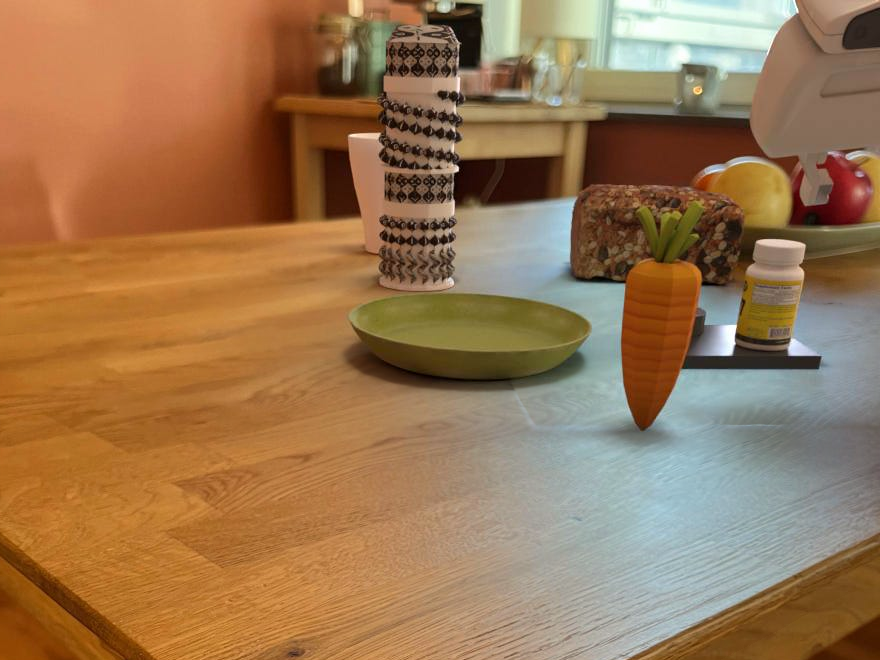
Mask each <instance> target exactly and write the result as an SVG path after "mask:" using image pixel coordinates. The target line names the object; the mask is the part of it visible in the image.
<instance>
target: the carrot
mask: <svg viewBox="0 0 880 660" xmlns="http://www.w3.org/2000/svg"><path fill="white" fill-rule="evenodd" d="M703 211H704V208H703V206H702V204H701V202H699V201H692V203H691V204H690V206H689V207H688V209H687V211H686V212H685V214H684V216H683V218H682V219H681V221H680V223H679V225H678V227H677V229H676V231H675V230H674V229H675V227H676V225H677V224H678V222H679V220H680V218H681V216H682V214H680V213H679V212H675V211H674V212H673V213H672V214H671V215H670V214H669V213H668V212H666V213H664V214H663V215H662V216H661V230H660V238H658V233H657V229H656V225H655V221H654V218H653V216H652V214H651V212H650V211H649V209H648V208H647V207H646V206H644V207H641V208H640V209H639V210H638V211H637V212H636V213H637V215H638V217H639V219H640V221H641V223H642V225H643V228H644V231H645V234H646V236H647V239H648V242H649V245H650V248H651V250H652V253H653V256H654V258H651V259H645V260H643V261H641V262H639V263H638V264H637V265H636V266H635V267H633V268H632V269H631V270H630V271H629V274H628V276H627V280H626V281H625V288H624V296H623V297H624V298H623V308H622V320H621V335H620V349H621V350H620V351H621V352H620V353H621V354H620V355H621V357H620V358H621V373H622V383H623V384H622V385H623V389H624V393H625V397H626V402H627V405H628V408H629V412H630V413H631V416H632V419H633V422H634V424H635V425H636V426H637V427H638V429H639V430H640V431H642V432H643V431H646V430H647V429H649V428H650V427H651V426H652V425H653V424H654V422H655V420H656V419H657V417H658V416H659V414H660V413H661V411H662V410H663V409H664V407H665V405H666V404H667V402H668V400H669V399H670V397H671V395H672V393H673V390H674V388H675V387H676V384H677V382H678V378H679V375H680V373H681V370H682V369H681V368H682V365H683V362H684V359H685V356H686V353H687V350H688V347H689V344H690V339H691V335H692V330H693V325H694V321H695V316H696V311H697V307H699V300H700V295H701V289H702V284H703V283H702V277H701V272H700V270H699V269H698V268H697V266H695V265H693V264H692V263H689V262H686V261H682V260H679V259H677V258H678V257H679V256H680V255H681V254H682V253H684V252H685V251H686V250H687V249H688V248H689V247H690V246H691V245H693V244H694V243H695V242H696V241H697V240H698V239H699V236H698V234H691V235H689V234H690V232H691V231H692V229H693V228H694V226H695V224H696V223H697V221H698V220H699V218H700V216H701V214H702V213H703Z"/></svg>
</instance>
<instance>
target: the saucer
mask: <svg viewBox="0 0 880 660" xmlns="http://www.w3.org/2000/svg"><path fill="white" fill-rule="evenodd" d="M347 317H348V318H347V319H348V321H349V324H350V326H351V327H352V329H353V331H354V332H355V334H356V335H357V337H358V338H359V340H361V342H362V343H363V344H364V345H365V347H367V348H368V349H369V350H370V352H372V353H373V355H375V356H376V357H378V358H379V359H381V360H382V361H384V362H385V363H387V364H389V365H392V366H394V367H397V368H399V369H403V370H406V371H409V372H413V373H416V374H421V375H426V376H427V375H428V376H431V377H432V376H433V377H441V378H449V379H456V380H457V379H459V380H478V381H479V380H480V381H482V380H483V381H486V380H487V381H488V380H489V381H490V380H492V381H493V380H510V379H518V378H525V377H531V376H536V375H539V374H542V373H545V372H547V371H550V370H553V369H554V368H556V367H558V366H559V365H561V364H563V363H564V362H565V361H566V360H567V359H569V358H570V357H571V356H573V354H574V353H575V352H576V351H577V350H578V349H580V348H581V346H582V345H583V344H584V343H585V341H586V340H587V338H588V337H589V336H590V335H591V332H592V330H593V326H592V324H591V322H590V321H589V320H588V319H587V318H586V317H584V316H583V315H581V314H579V313H578V312H575V311H573V310H571V309H568V308H565V307H563V306H559V305H556V304H551V303H549V302H544V301H540V300H534V299H528V298H523V297H522V298H521V297H515V296H508V295H498V294H489V293H488V294H487V293H472V292H423V293H411V294H410V293H409V294H401V295H393V296H387V297H380V298H376V299H372V300H369V301H366V302H364V303H361V304H359V305H357V306H355V307H354V308H352V309H351V310H350V311H349V313H348V316H347Z"/></svg>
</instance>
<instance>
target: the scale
mask: <svg viewBox="0 0 880 660" xmlns="http://www.w3.org/2000/svg"><path fill="white" fill-rule="evenodd" d="M706 317H707V311H706V310H705V309H703V308H702V307H699V306H697V311H696V316H695V321H694V325H693V330H692V335H691V339H690V344H689V347H688V350H687V353H686V356H685V359H684V362H683V365H682V368H681V370H819V369H820V365H821V361H822V357H823V356H822V355H821V354H819V353H817V352H816V351H814V350H813V349H811V348H809V347H808V346H806V345H805V344H803V343H802V342H800V341H798V340H797V339H795V338H793V337H792V339H791V344H790V346H789V347H788V348H787V349H784V350H781V351H761V350H752V349H747V348H743V347H741V346H738V345H737V344H736V343H735V341H734V338H735V332H736V326H737V324H705V322H706Z"/></svg>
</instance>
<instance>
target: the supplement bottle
mask: <svg viewBox="0 0 880 660" xmlns="http://www.w3.org/2000/svg"><path fill="white" fill-rule="evenodd" d="M806 248H807V247H806V244H805V243H803V242H800V241H795V240H789V239H779V238H777V239H776V238H766V239H765V238H764V239H758V240H756V241H755V244H754V249H753V253H752V260H753V261H754V263H752V264H750V265H749V266H748V267H747V269H746V271H745V275H744V281H743V287H742V291H741V298H740V304H739V310H738V314H737V320H736V325H737V326H736V332H735V338H734V341H735V343H736V344H737V345H738V346H741V347H743V348H747V349H752V350H761V351H781V350H784V349H787V348H788V347H789V346H790V344H791V339H792V338H793V334H794V329H795V323H796V318H797V314H798V308H799V304H800V299H801V295H802V290H803V285H804V281H805V271H804V269H803V268H802V267H800V264H803V260H804V258H805V252H806Z"/></svg>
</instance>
